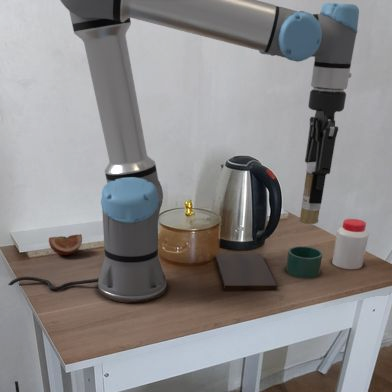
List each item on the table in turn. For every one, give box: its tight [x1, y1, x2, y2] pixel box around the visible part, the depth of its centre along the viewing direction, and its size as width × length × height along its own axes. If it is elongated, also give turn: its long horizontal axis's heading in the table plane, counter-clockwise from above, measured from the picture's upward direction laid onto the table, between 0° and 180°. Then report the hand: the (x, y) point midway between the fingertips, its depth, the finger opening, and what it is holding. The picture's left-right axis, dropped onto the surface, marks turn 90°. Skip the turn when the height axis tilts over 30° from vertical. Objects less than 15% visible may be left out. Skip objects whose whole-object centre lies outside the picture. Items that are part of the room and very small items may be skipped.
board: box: [214, 252, 278, 291], centre depth 136 cm, size 12×20×1 cm, turn 5°
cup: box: [285, 245, 324, 279], centre depth 137 cm, size 8×8×5 cm
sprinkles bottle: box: [298, 162, 322, 225], centre depth 128 cm, size 5×5×13 cm
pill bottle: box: [331, 218, 370, 270], centre depth 141 cm, size 8×8×11 cm
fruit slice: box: [48, 234, 83, 256], centre depth 141 cm, size 8×7×5 cm
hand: (312, 199), depth 129 cm, fingers closed on sprinkles bottle, 5 cm apart
